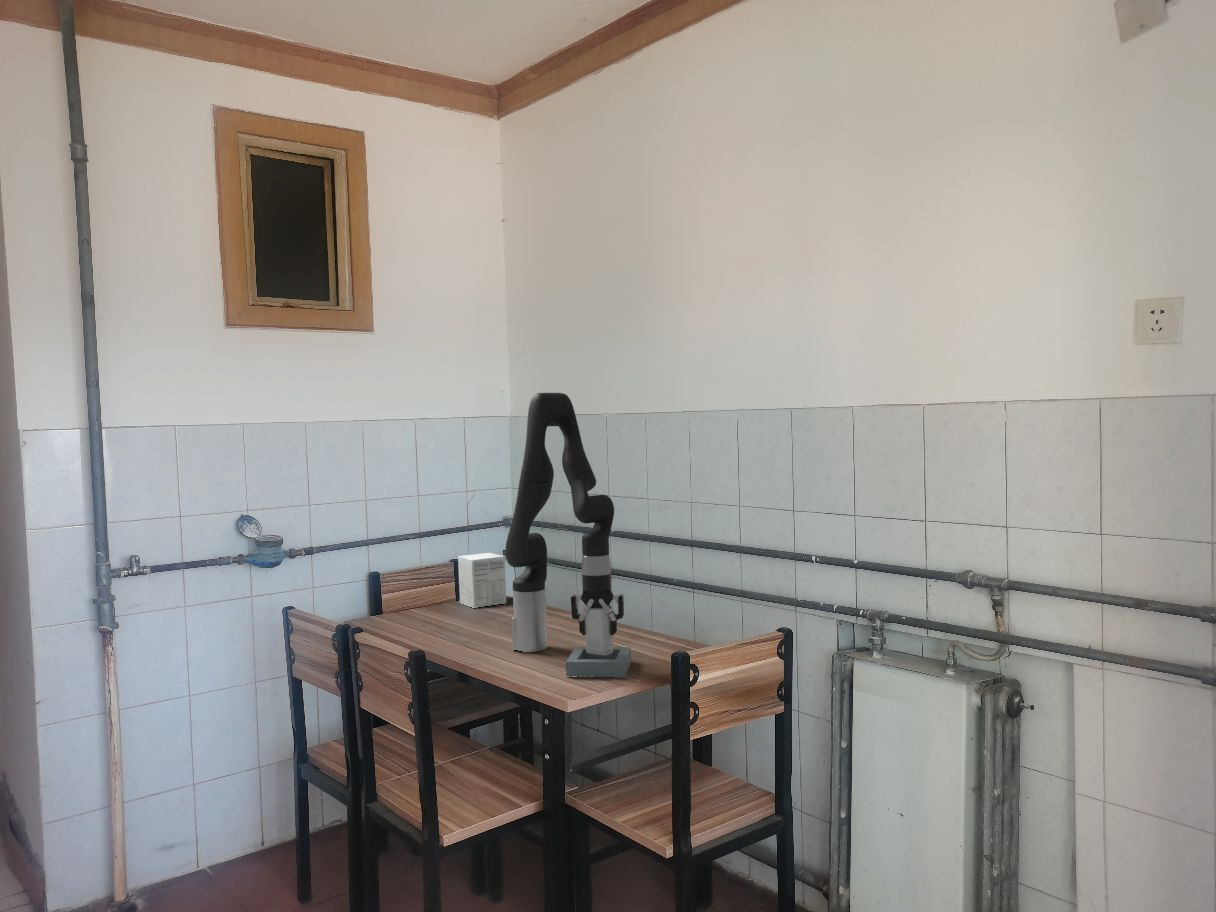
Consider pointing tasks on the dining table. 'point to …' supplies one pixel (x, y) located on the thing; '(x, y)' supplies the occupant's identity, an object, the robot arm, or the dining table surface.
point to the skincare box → (598, 632)
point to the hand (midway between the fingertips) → (598, 634)
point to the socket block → (599, 663)
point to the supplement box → (482, 579)
